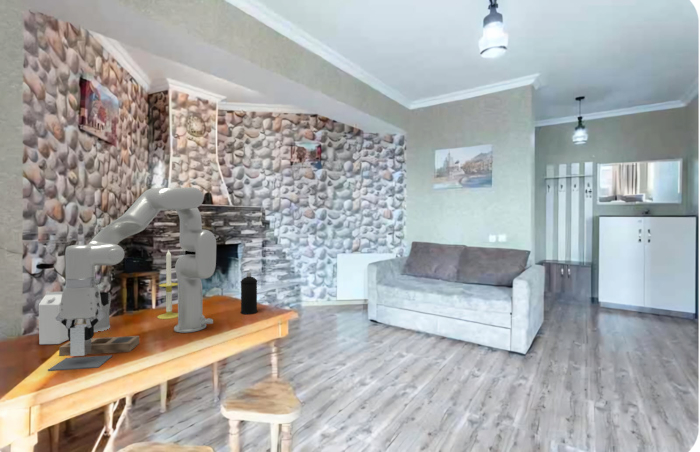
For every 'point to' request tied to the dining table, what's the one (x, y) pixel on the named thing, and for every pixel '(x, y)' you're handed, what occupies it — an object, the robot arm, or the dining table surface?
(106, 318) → the glass holder
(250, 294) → the aerosol can
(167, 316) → the candle
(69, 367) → the mat
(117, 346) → the rail
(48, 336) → the milk carton
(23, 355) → the dining table surface
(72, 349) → the grey rectangular block
